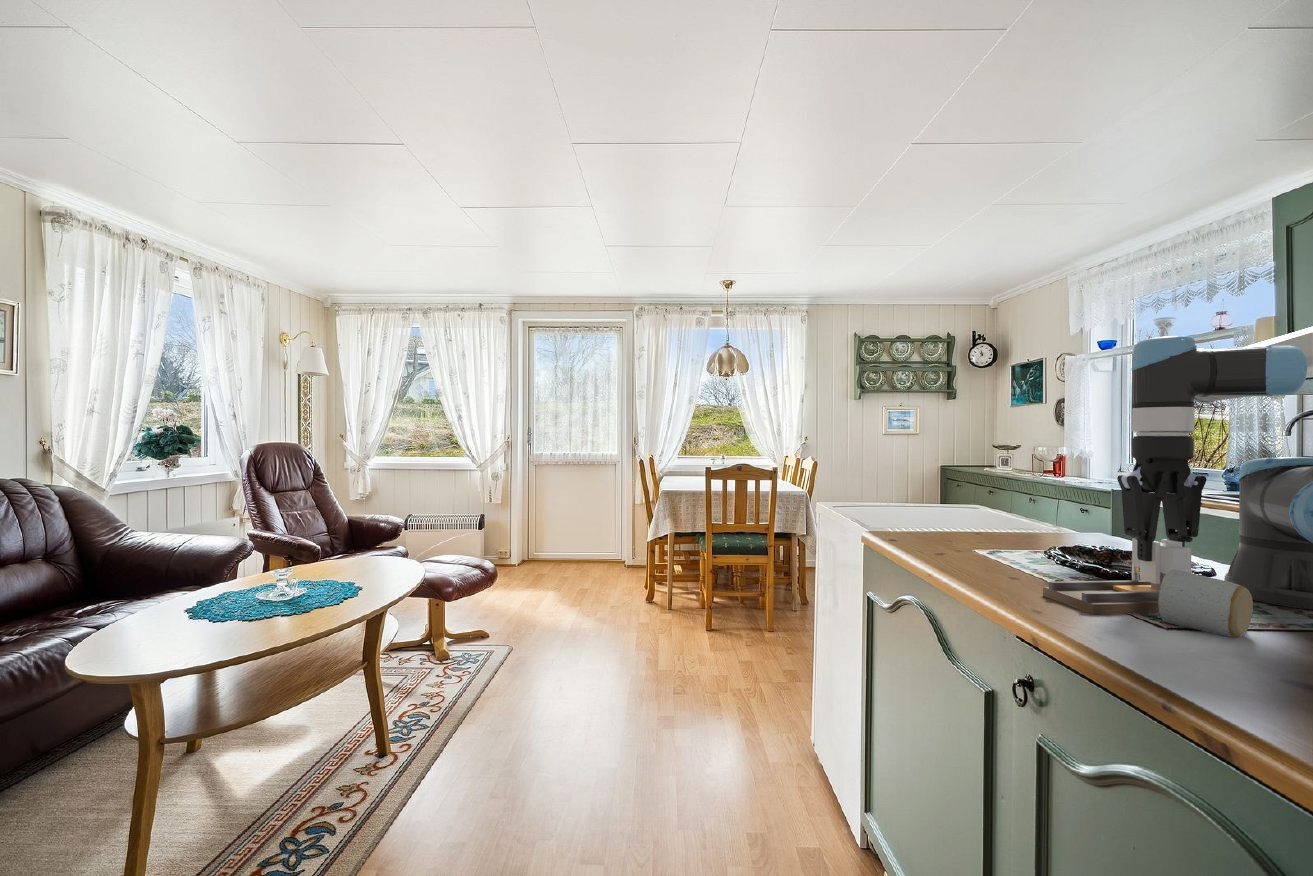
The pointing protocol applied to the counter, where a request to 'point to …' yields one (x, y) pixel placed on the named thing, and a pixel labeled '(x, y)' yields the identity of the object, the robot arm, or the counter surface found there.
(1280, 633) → the counter surface
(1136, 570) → the keeper hook
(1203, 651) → the counter surface
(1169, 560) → the white block on base
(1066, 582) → the brown piece
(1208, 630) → the ceramic mug
